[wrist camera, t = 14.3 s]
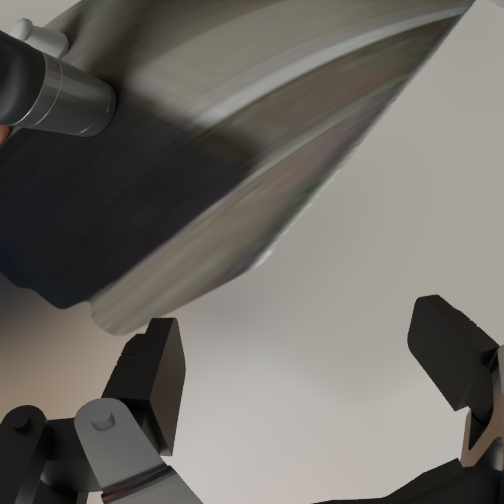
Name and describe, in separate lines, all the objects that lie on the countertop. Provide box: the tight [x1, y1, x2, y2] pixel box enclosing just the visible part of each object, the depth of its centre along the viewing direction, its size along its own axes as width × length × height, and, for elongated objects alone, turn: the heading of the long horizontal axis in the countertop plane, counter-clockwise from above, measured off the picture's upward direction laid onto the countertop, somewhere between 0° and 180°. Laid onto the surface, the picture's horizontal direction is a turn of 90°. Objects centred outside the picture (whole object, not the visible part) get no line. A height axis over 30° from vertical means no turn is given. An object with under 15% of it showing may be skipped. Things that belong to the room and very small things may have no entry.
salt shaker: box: [9, 18, 69, 59], centre depth 29 cm, size 6×6×13 cm
